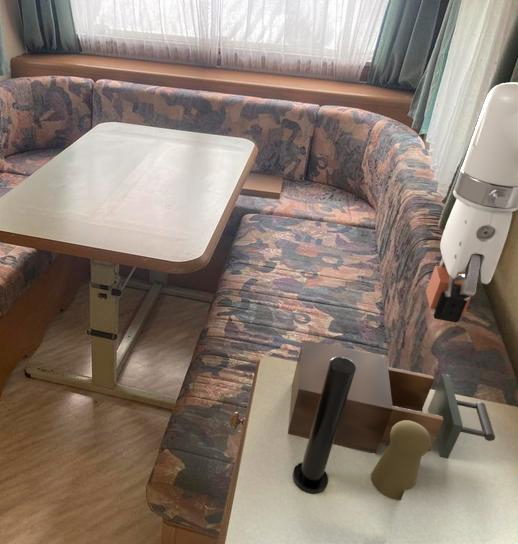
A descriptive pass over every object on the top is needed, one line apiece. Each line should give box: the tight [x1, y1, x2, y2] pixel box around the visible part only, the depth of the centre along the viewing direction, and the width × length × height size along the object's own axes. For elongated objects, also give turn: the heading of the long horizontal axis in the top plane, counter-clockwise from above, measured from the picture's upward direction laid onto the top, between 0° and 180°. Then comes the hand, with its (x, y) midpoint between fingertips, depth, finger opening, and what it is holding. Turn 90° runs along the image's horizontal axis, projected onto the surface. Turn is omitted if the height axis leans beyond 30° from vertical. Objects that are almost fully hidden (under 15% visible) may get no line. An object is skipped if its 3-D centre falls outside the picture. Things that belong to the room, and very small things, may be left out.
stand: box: [292, 357, 356, 495], centre depth 78 cm, size 5×5×22 cm
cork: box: [370, 420, 431, 501], centre depth 82 cm, size 6×6×11 cm
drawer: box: [380, 366, 496, 460], centre depth 90 cm, size 18×11×8 cm, turn 75°
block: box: [425, 265, 473, 315], centre depth 79 cm, size 4×4×4 cm
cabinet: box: [287, 339, 393, 455], centre depth 93 cm, size 14×13×10 cm
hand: (442, 307), depth 81 cm, fingers closed on block, 4 cm apart
